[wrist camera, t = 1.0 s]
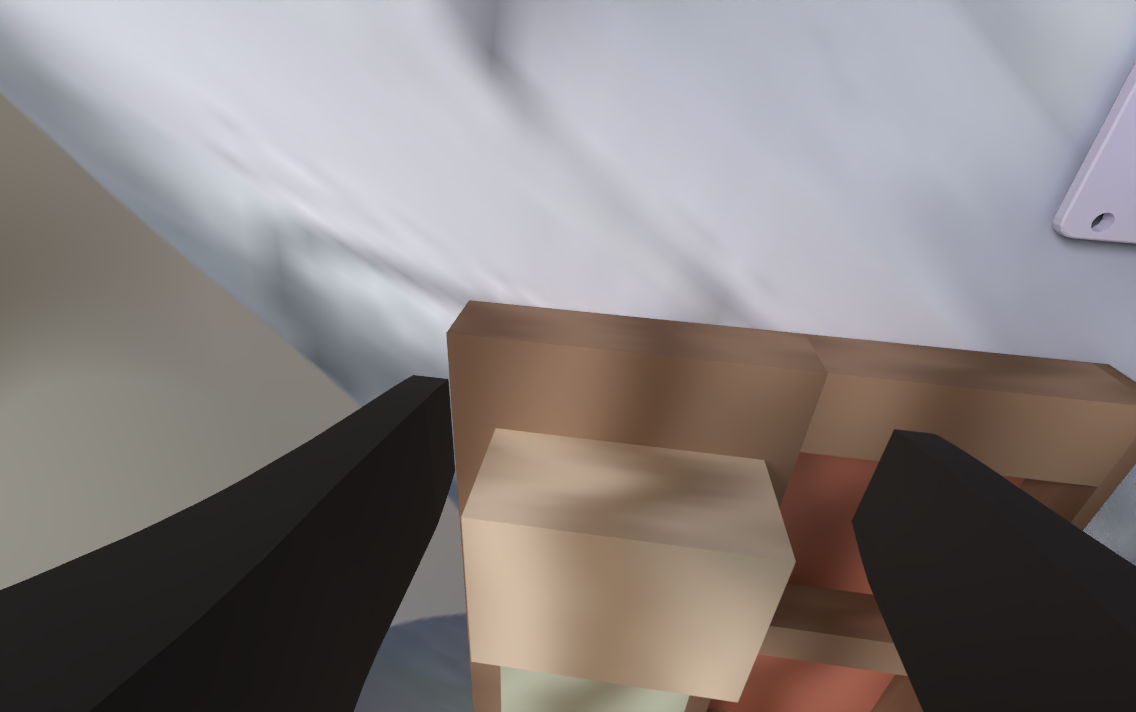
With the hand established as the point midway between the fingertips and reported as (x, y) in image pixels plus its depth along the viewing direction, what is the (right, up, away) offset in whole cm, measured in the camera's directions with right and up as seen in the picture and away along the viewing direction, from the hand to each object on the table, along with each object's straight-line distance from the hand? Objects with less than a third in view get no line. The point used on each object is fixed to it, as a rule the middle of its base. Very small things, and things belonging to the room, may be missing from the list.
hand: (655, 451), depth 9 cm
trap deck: (+5, -9, +15) cm, 18 cm away
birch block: (0, -4, +10) cm, 11 cm away
